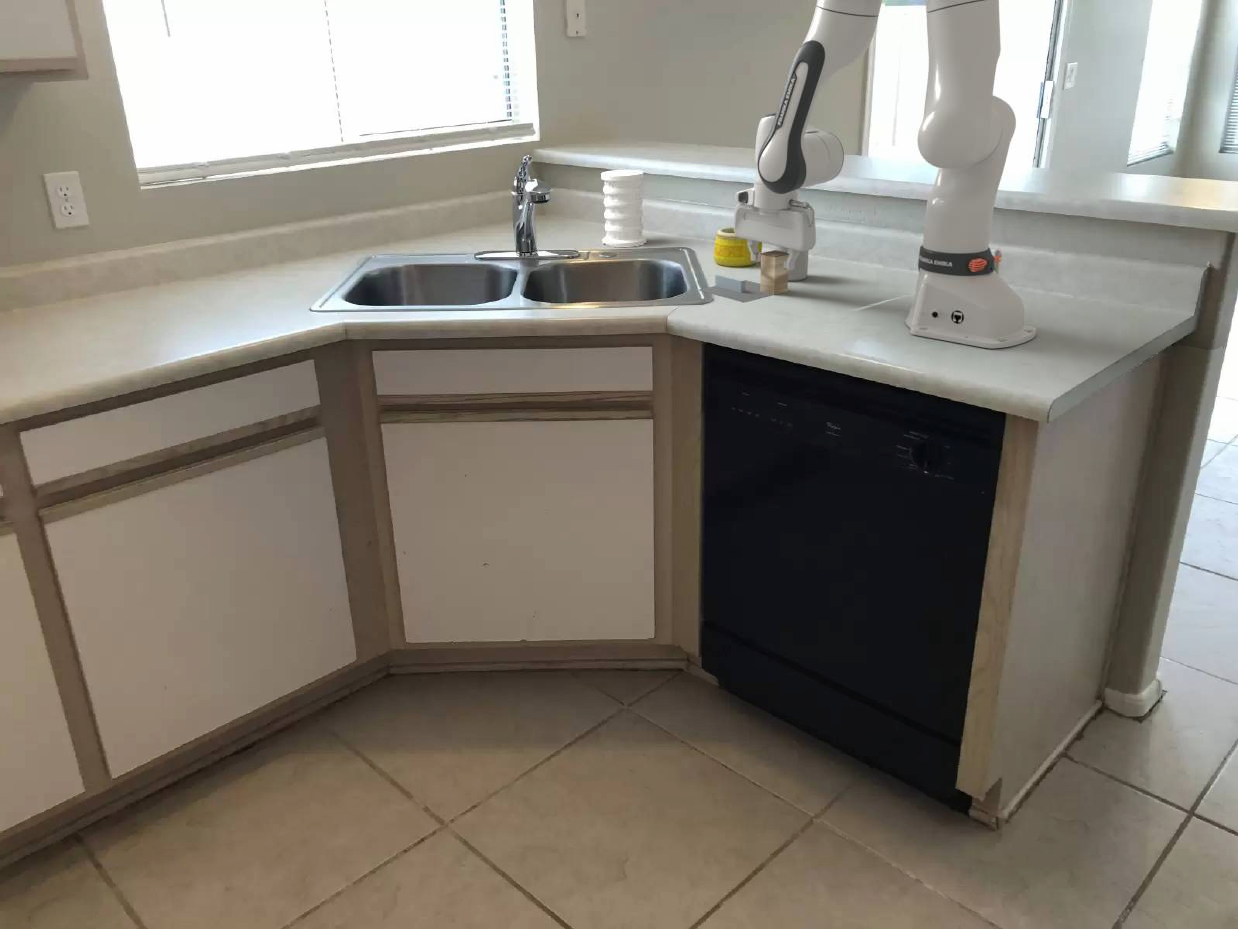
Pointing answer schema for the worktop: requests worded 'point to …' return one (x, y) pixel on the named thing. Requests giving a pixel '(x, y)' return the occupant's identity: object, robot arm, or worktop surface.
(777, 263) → the block
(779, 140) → the robot arm
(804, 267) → the can
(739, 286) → the strip
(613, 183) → the decorative container
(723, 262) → the yellow pot
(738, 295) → the mat
